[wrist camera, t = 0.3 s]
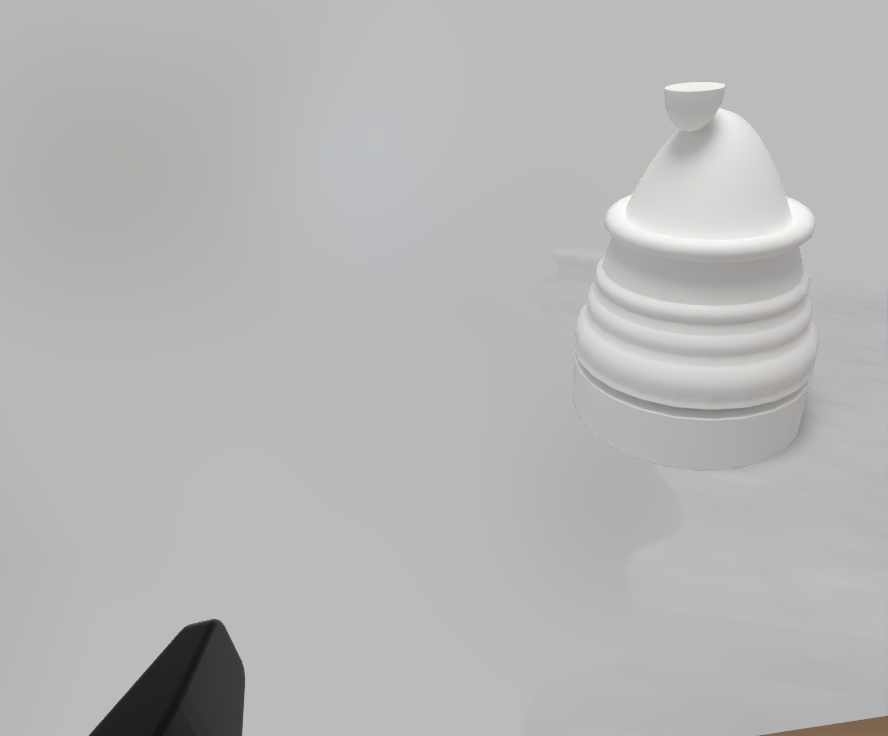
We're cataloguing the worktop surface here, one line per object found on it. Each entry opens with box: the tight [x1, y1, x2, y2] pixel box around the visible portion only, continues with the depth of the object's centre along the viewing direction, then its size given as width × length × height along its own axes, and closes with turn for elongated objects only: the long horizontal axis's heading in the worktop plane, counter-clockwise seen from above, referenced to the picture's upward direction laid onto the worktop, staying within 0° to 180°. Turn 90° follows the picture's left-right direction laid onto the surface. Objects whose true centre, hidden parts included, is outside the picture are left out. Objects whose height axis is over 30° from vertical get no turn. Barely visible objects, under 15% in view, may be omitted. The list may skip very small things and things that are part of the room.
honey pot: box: [573, 82, 819, 470], centre depth 35 cm, size 13×13×18 cm
